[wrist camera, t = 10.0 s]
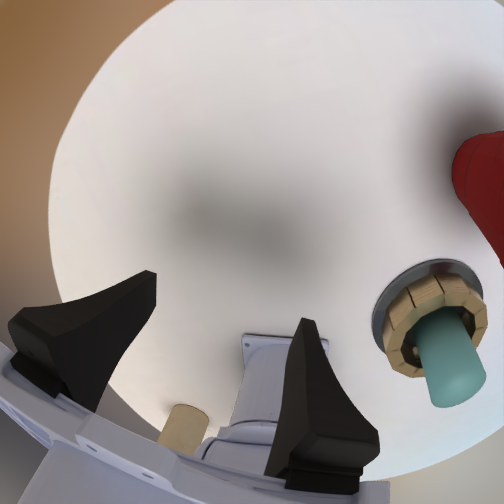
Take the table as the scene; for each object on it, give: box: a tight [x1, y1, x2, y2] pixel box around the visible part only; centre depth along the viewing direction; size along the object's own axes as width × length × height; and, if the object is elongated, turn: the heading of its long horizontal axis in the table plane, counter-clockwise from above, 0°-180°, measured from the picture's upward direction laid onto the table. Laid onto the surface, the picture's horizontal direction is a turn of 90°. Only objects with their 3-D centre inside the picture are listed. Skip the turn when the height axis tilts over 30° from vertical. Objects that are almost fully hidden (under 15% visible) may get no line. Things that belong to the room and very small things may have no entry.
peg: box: [411, 306, 486, 408], centre depth 18 cm, size 4×4×8 cm
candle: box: [157, 405, 209, 456], centre depth 32 cm, size 6×6×10 cm
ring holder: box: [372, 259, 488, 378], centre depth 20 cm, size 11×11×3 cm
